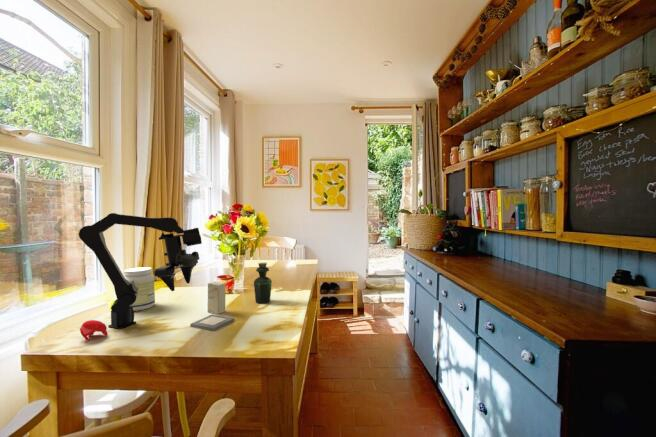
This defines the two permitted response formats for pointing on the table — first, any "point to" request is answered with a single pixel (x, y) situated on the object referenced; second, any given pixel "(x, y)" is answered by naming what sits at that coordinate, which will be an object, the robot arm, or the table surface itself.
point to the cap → (92, 328)
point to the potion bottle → (262, 285)
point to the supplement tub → (142, 286)
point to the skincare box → (216, 297)
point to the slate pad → (212, 322)
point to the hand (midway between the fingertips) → (180, 287)
